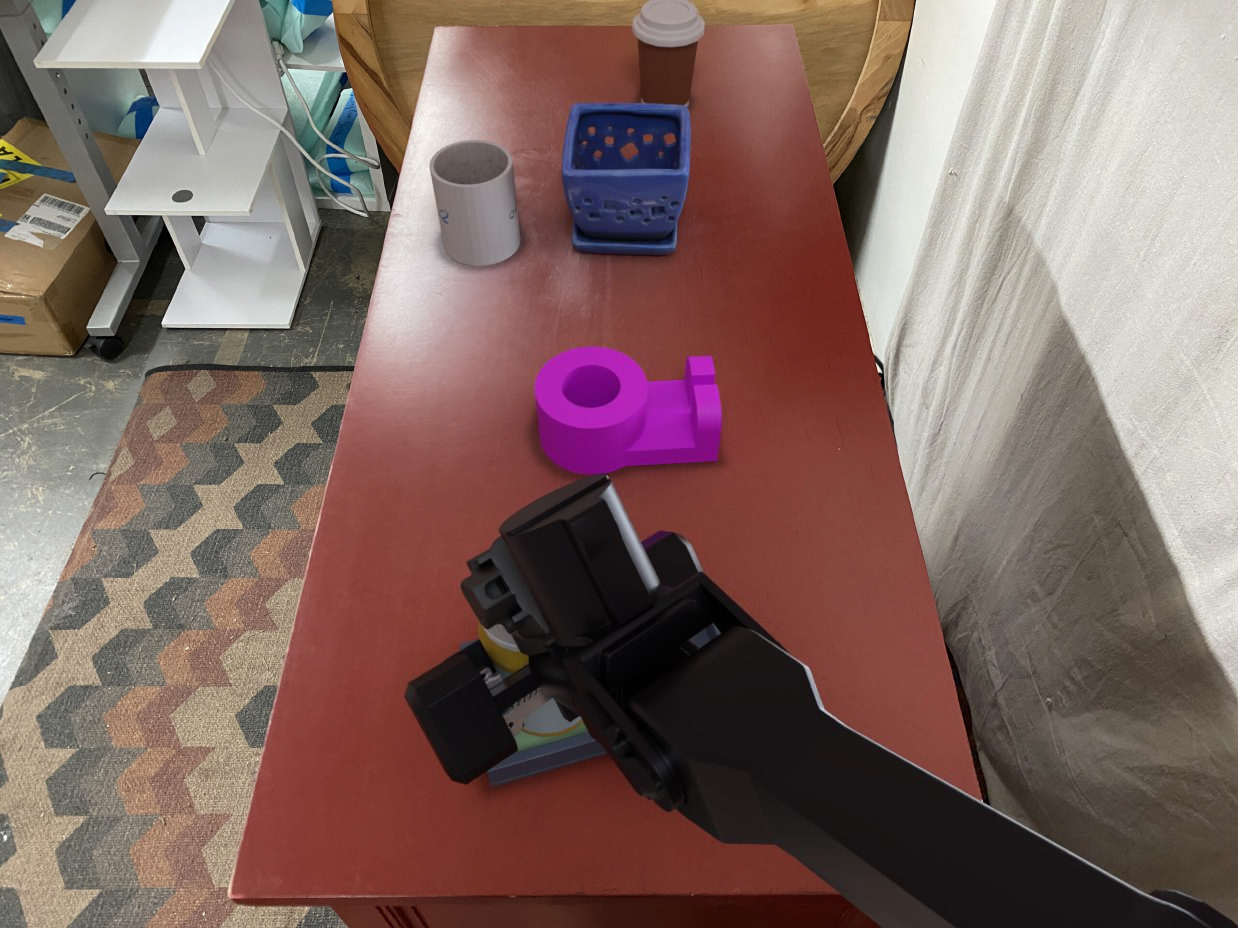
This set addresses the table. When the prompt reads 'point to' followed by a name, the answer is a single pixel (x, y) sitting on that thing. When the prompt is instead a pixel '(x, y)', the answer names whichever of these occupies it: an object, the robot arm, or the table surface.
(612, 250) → the flower pot
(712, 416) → the tape dispenser
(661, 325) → the table surface
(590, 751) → the blue-grey divided tray
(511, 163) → the mug
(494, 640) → the bottle
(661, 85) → the coffee cup
